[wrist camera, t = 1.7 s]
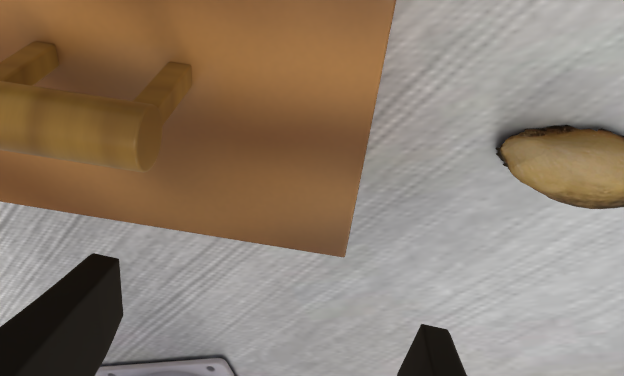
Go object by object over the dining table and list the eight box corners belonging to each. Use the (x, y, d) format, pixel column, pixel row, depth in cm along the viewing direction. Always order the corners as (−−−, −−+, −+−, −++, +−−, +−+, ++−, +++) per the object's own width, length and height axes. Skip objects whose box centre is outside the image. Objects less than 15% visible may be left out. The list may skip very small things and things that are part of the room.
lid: (-186, -135, 13) (-437, -115, 9) (405, -52, 13) (412, 7, 9) (-57, 181, 19) (-174, 277, 15) (345, 246, 19) (334, 363, 15)
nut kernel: (480, 141, 20) (504, 197, 18) (604, 63, 18) (648, 117, 15) (552, 213, 23) (579, 267, 21) (663, 156, 21) (706, 210, 19)
